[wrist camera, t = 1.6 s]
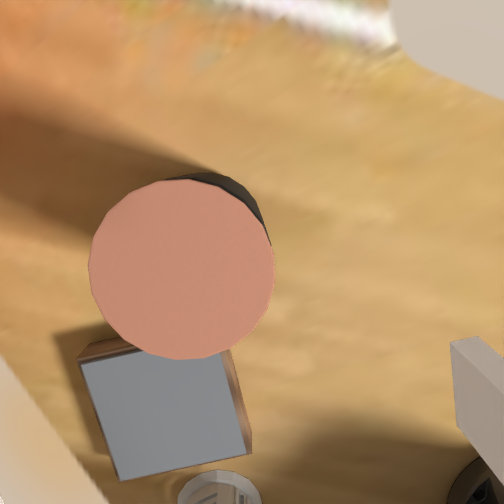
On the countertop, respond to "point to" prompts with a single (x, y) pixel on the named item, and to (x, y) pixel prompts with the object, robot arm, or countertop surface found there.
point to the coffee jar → (183, 266)
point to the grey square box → (164, 408)
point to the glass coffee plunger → (219, 489)
